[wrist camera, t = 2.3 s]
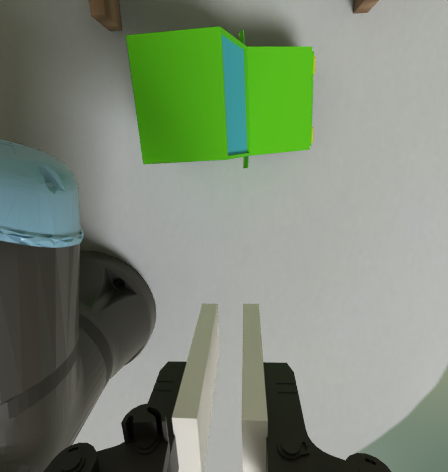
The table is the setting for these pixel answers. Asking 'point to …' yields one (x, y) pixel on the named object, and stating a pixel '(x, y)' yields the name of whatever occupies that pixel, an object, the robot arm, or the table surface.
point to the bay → (108, 15)
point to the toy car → (219, 96)
